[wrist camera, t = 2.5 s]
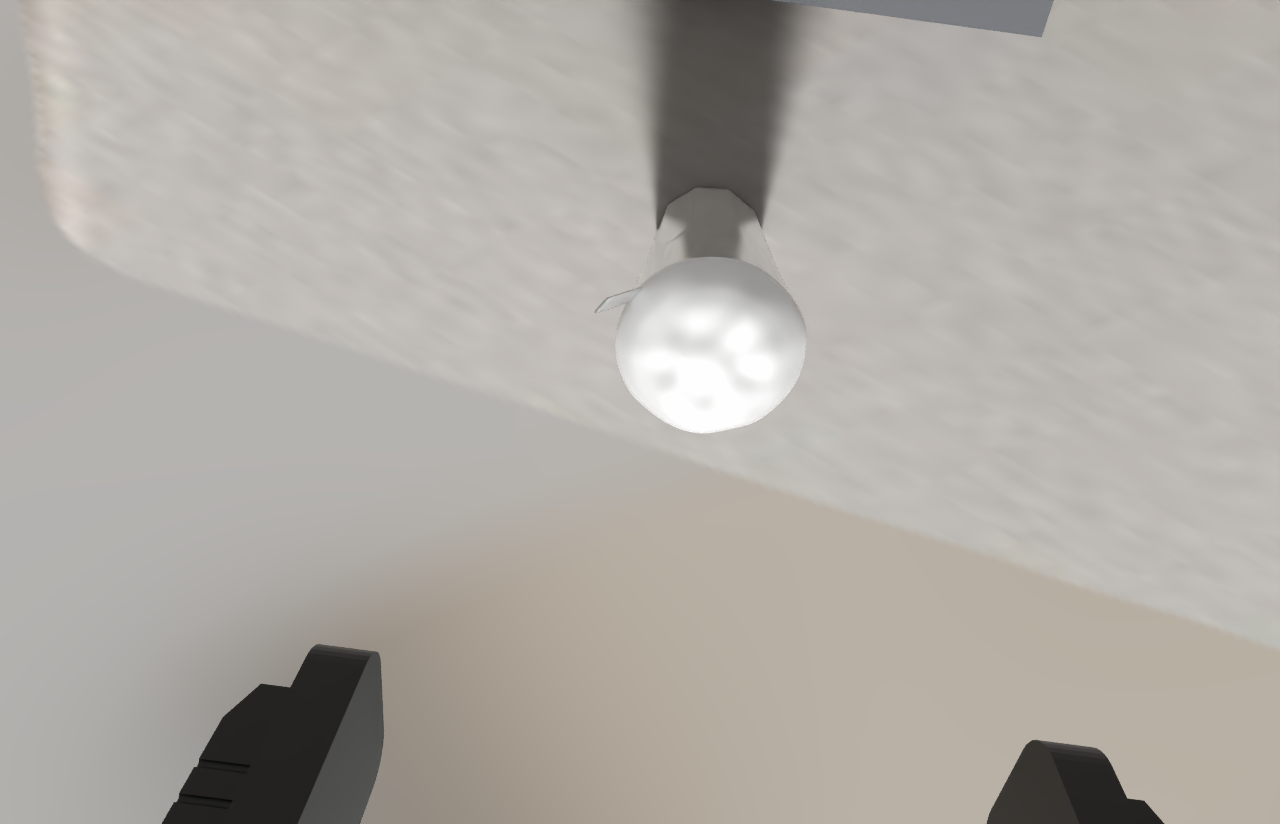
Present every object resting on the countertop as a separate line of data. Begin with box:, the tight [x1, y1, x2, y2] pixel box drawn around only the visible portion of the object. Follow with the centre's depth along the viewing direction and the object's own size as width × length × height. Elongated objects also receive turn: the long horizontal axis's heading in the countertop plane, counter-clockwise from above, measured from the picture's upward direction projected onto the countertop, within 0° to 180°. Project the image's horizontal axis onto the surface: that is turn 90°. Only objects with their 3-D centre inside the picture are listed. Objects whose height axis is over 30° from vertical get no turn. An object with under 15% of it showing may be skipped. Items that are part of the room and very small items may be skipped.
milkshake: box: [595, 187, 807, 433], centre depth 23 cm, size 5×5×10 cm
